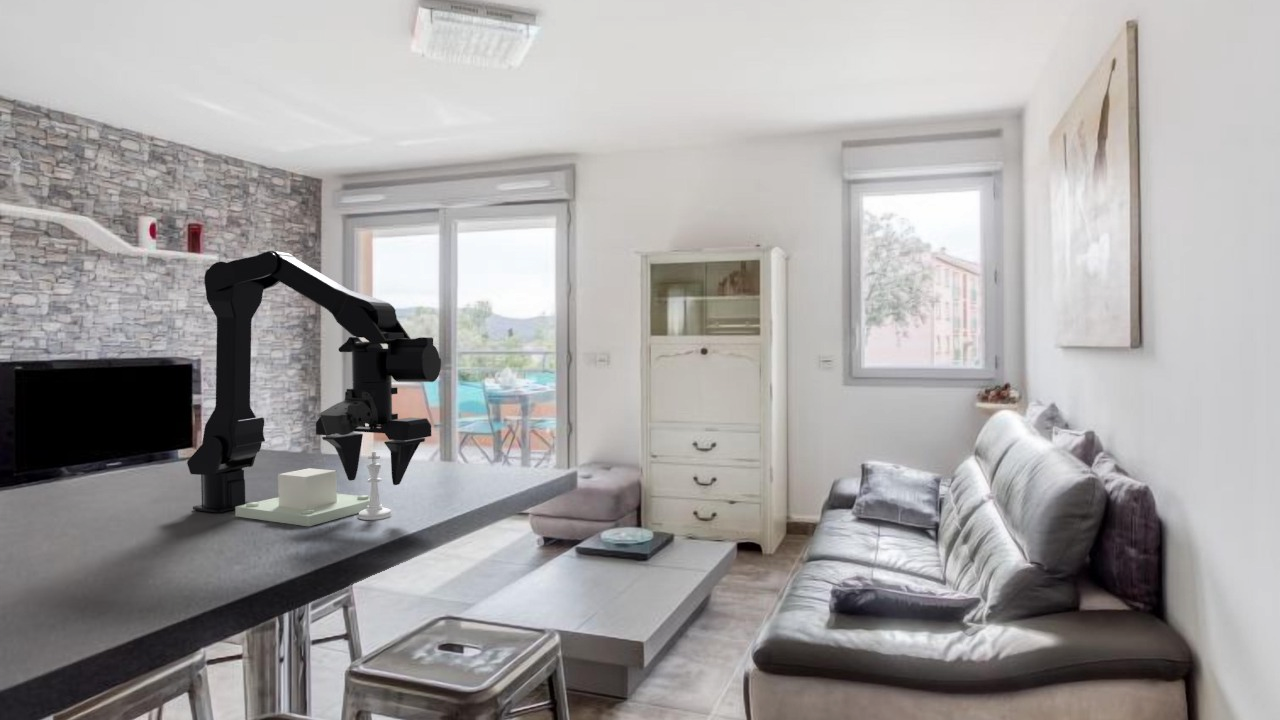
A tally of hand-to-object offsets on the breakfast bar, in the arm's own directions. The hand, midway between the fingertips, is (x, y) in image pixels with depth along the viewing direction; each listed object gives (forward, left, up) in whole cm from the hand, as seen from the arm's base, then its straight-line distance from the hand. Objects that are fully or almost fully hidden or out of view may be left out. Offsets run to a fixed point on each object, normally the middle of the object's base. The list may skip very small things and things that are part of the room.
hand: (373, 482), depth 120 cm
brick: (-11, -3, -4) cm, 12 cm away
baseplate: (-12, -2, -5) cm, 13 cm away
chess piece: (0, 0, -6) cm, 6 cm away
